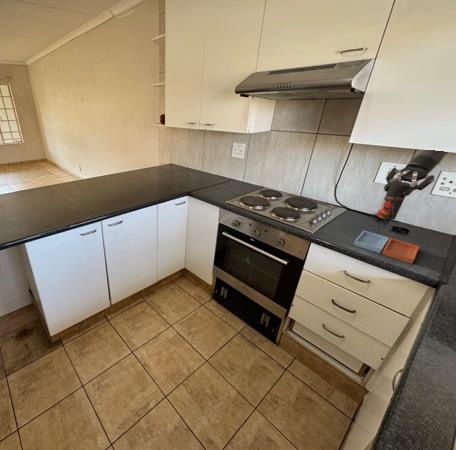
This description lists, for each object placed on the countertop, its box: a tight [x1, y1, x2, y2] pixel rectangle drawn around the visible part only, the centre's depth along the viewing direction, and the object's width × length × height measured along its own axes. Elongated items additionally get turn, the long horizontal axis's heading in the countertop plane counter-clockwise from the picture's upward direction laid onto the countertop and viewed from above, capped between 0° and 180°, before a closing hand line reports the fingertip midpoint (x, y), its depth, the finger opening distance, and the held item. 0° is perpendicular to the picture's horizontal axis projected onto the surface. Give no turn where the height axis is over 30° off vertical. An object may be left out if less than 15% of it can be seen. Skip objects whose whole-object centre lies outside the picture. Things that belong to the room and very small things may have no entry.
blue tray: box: [352, 230, 390, 254], centre depth 114 cm, size 10×15×2 cm, turn 130°
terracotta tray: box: [381, 237, 421, 265], centre depth 107 cm, size 10×15×2 cm, turn 130°
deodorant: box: [376, 181, 411, 221], centre depth 103 cm, size 6×6×15 cm
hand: (394, 192), depth 101 cm, fingers closed on deodorant, 6 cm apart
